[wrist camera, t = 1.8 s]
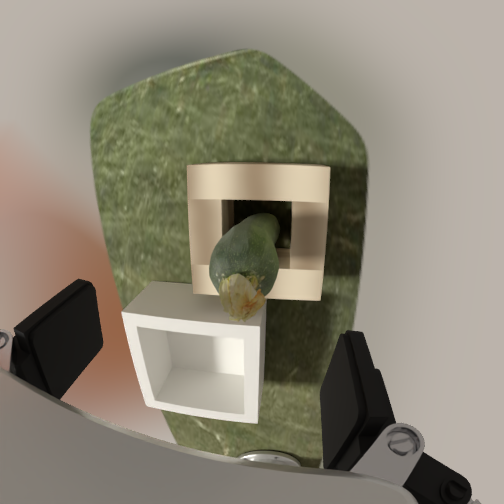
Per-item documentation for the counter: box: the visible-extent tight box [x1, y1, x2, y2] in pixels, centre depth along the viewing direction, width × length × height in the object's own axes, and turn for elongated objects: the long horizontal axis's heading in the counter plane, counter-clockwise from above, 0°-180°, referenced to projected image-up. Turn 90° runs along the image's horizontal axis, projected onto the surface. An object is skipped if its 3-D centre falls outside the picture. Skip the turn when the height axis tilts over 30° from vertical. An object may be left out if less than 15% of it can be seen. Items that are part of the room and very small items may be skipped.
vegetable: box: [209, 213, 280, 322], centre depth 22 cm, size 4×4×20 cm
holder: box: [187, 162, 330, 301], centre depth 29 cm, size 12×12×6 cm
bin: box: [122, 281, 267, 424], centre depth 33 cm, size 14×14×8 cm
